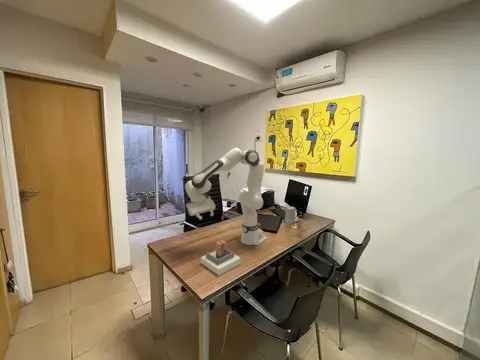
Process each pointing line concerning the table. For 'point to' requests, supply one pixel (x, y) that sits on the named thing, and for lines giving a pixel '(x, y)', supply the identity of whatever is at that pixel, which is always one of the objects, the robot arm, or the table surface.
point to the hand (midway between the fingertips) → (207, 217)
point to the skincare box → (290, 215)
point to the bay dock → (220, 262)
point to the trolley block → (220, 249)
